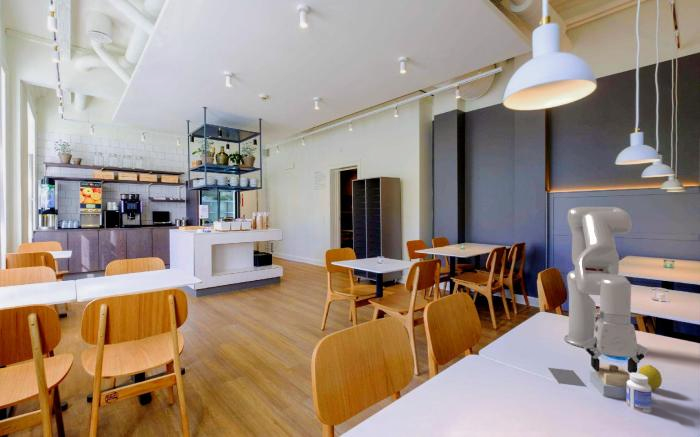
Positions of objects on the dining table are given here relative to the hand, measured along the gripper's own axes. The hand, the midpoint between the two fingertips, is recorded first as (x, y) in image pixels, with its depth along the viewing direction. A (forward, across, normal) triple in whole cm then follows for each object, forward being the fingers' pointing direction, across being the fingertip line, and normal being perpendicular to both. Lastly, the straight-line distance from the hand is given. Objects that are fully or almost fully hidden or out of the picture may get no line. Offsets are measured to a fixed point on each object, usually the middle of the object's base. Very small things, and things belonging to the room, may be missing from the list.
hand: (613, 371), depth 103 cm
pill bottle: (+7, +3, -8) cm, 11 cm away
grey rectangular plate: (+7, -11, +6) cm, 14 cm away
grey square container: (+7, 0, 0) cm, 7 cm away
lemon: (+7, +12, +5) cm, 15 cm away
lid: (+3, 0, 0) cm, 3 cm away
